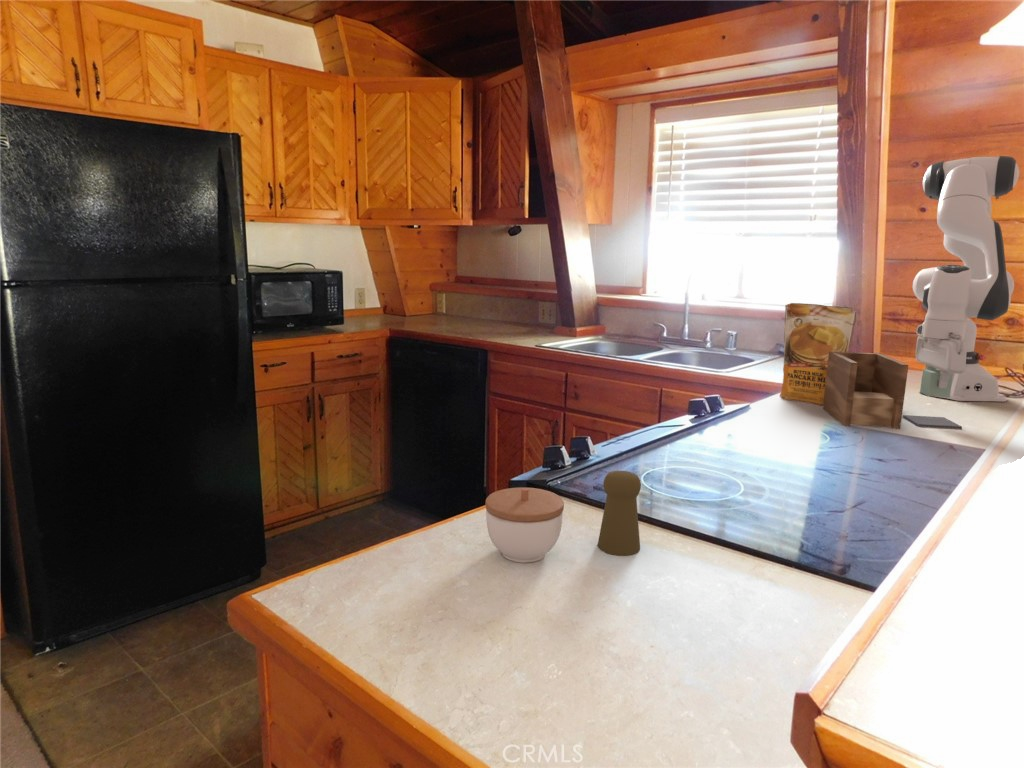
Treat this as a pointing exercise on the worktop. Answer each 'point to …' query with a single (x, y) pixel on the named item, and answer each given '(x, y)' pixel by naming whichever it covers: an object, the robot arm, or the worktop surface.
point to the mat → (931, 422)
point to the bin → (865, 389)
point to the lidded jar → (524, 522)
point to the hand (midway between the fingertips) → (936, 385)
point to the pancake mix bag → (812, 347)
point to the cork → (620, 514)
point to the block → (934, 384)
